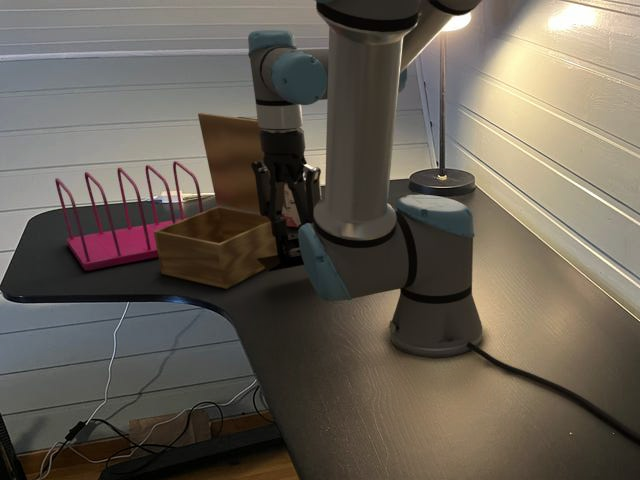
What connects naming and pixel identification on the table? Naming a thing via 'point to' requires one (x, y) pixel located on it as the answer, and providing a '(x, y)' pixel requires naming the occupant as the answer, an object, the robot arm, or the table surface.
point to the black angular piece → (284, 255)
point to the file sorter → (122, 242)
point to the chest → (215, 246)
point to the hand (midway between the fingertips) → (295, 255)
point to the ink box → (291, 207)
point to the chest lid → (232, 158)
